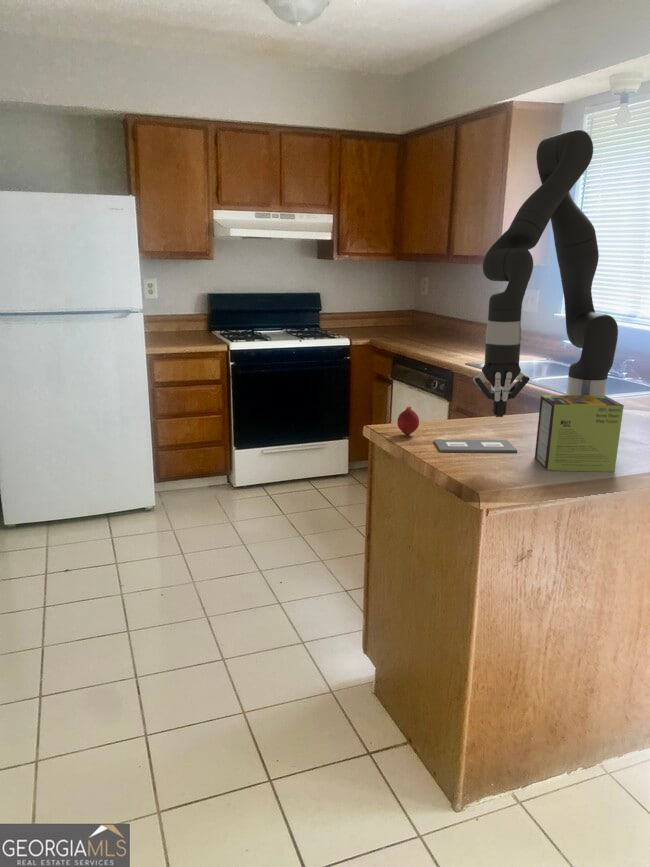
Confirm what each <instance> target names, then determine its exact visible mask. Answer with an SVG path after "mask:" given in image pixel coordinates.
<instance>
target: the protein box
mask: <svg viewBox="0 0 650 867" xmlns="http://www.w3.org/2000/svg"><path fill="white" fill-rule="evenodd" d="M539 401H540V402H539V411H538V420H537V421H538V422H537V429H536V430H537V432H536V441H535V451H534V452H535V453H534V458H535V459H536V460H537V461H538V462H539V463H540V464H541V465H542V467H543V468H544V469H546V471H550V472H551V471H552V472H553V471H557V472H559V471H560V472H561V471H562V472H595V473H596V472H598V473H601V472H603V473H604V472H606V473H607V472H609V473H613V472H615V471H616V463H617V459H618V458H617V457H618V450H619V443H620V442H619V441H620V434H621V429H622V428H621V427H622V421H623V414H624V404H622V403H620V402H618V401H616V400H614V399H612V398H610V397H609V396H607V395H605V396H600V395H599V396H587V395H566V394H561V395H560V394H541V395H540V400H539Z"/></svg>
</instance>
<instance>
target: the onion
mask: <svg viewBox="0 0 650 867" xmlns="http://www.w3.org/2000/svg"><path fill="white" fill-rule="evenodd" d="M396 423H397V428H398V429H399V430H400V431H401V432H402V434H404V435H405V436H410V435H411V434H413V433H414V432H416V431H417V429H419V425H420V418H419V415H418V414H417V412H415V411H414V410H413V409H412V407H411V405H408V406H407V407H406V409H404V410H403V411H402V412H400V414H399V415H398V418H397V420H396Z"/></svg>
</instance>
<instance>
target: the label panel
mask: <svg viewBox="0 0 650 867" xmlns="http://www.w3.org/2000/svg"><path fill="white" fill-rule="evenodd" d="M433 443H434V445H436V448H437V449H438V452H440V453H518V449H516V447H515V446H514V445H513V444H512V443H511V442H510V441H509V440H508V439H436V438H435V439H433Z"/></svg>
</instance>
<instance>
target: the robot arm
mask: <svg viewBox="0 0 650 867" xmlns="http://www.w3.org/2000/svg"><path fill="white" fill-rule="evenodd" d="M593 155H594V143H593V139H592V138H591V136H590V134H589V133H588V132H587V131H586V130H584V129H572V130H569V131H565V132H563V133H561V132H560V133H558V134H556V135H552V136H548V137H547V138H544V139H543V140H541V141H540V142H539V144H538V146H537V150H536V167H537V172H538V174H539V179H540V182H541V185H540V186H539V187H538V188H537V189H536V190H535V191H534V192H533V193H531V195H529V197H527V199H526V200H525V201H524V202H523V203H522V205H521V206H520V207H519V209H518V211H517V212H516V213H515V216H514V217H513V220H512V221H511V223H510V226H509V227H508V229H507V230H506V231H505V232H504V233H503V234H502V235H501V236H500V237H499V238H498V239H497V240H496V241H495V242H494V243H493V244H492V245H491V247H489V249H488V250H487V252H486V253H485V255H484V258H483V262H482V272H483V274H484V277H486V279H487V280H489V281H490V282H491V281H492V282H508V283H507V285H506V288H505V289H504V291H501V292H496V293H494V294H492V295H491V296H490V298H489V301H488V313H487V314H488V316H487V317H488V318H487V326H486V331H485V348H484V349H485V350H484V352H485V353H484V364H483V367H482V369H481V372H479V374H478V375H474V376H472V381H473V382H474V383H475V385H476V386H477V387H478V388H479V390H480V391H481V393H482V394H483V395H484V397H485V398H487V399H488V400H492V402H491V403H492V406H491V413H492V414H493V415H494V416H495V418H503V417H504V415H505V414H506V413H507V401H508V400H510V399H515V398H516V397H517V396H518V394H519V393H520V392H521V391H522V390H523V388H525V386H526V385H527V384H528V382H529V381H530V377H529V376H527V375H526V374H524V373H522V372H521V366H520V357H521V355H520V353H521V343H522V324H521V323H522V322H521V320H522V308H523V300H524V297H525V294H526V291H527V288H528V285H529V282H530V280H531V277H532V273H533V269H534V257H533V255H532V254H531V251H529V250H532V249H534V248H535V246H536V245H537V244H538V242H539V241H540V240H541V237H542V235H543V233H544V232H545V230H546V228H547V226H548V225H549V222H550V223H551V228H552V233H553V242H554V246H555V254H556V259H557V264H558V268H559V269H558V270H559V273H560V279H561V280H560V281H561V286H562V287H561V288H562V291H563V292H562V293H563V298H564V300H563V301H564V312H565V328H566V329H565V330H566V334H567V339H568V340H569V342H570V343H571V344H572V345H573V346H574V347H576V348H578V349H581V354H580V358H579V360H578V361H577V362H574V363H572V364H570V366H569V368H568V374H567V375H568V377H567V385H566V392H565V393H566V394H565V395H587V396H599V395H600V396H606V391H607V383H608V377H609V372H610V371H611V369H612V368H613V367H612V366H613V364H614V360H615V354H616V349H617V344H618V337H619V326H618V323H617V321H616V319H615V318H614V317H612V316H611V315H610V314H607V313H599V312H596V311H595V306H594V303H593V302H594V301H593V294H592V286H593V281H594V278H595V274H596V271H597V268H598V264H599V258H600V254H599V253H600V252H599V245H598V241H597V234H596V229H595V227H594V225H593V223H592V221H591V220H590V219H589V218H588V216H587V215H586V214H585V213H584V211H582V210H581V208H580V207H579V206H578V205H577V203H576V202H575V201H574V199H573V197H572V195H571V193H570V192H571V190H572V188H573V187H574V186H575V185H576V183H577V182H578V181H579V180H580V178H581V177H582V175H583V174H584V173H585V172H586V170H587V169H588V167H589V165H590V164H591V161H592V159H593ZM485 378H486V379H485ZM486 380H487V381H488V383H489V384H490V389H491V391H490V390H489V388H487V386H486V384H485V382H486ZM515 380H516V381H515ZM514 381H515V382H514ZM513 382H514V384H513ZM512 384H513V385H512ZM511 385H512V386H511Z"/></svg>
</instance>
